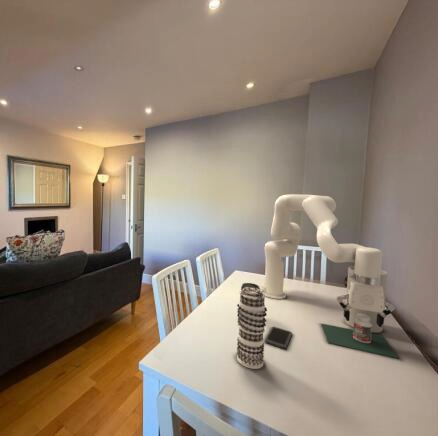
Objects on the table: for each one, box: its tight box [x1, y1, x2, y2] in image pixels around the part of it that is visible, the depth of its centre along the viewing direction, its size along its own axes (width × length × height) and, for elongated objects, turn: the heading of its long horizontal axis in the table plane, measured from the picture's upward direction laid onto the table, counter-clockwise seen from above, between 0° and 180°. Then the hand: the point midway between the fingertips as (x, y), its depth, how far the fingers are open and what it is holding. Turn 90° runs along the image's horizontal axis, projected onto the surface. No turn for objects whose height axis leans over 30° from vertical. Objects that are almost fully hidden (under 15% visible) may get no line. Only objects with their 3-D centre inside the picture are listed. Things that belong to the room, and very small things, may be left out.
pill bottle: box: [352, 314, 373, 343], centre depth 95 cm, size 5×5×10 cm
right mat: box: [320, 323, 400, 360], centre depth 97 cm, size 20×16×1 cm
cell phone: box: [264, 326, 293, 350], centre depth 98 cm, size 7×14×1 cm, turn 141°
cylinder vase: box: [344, 265, 388, 334], centre depth 106 cm, size 12×12×25 cm
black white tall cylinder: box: [236, 287, 268, 370], centre depth 83 cm, size 9×9×25 cm
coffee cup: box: [240, 282, 260, 291], centre depth 115 cm, size 8×8×15 cm
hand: (362, 322), depth 95 cm, fingers open, 9 cm apart
